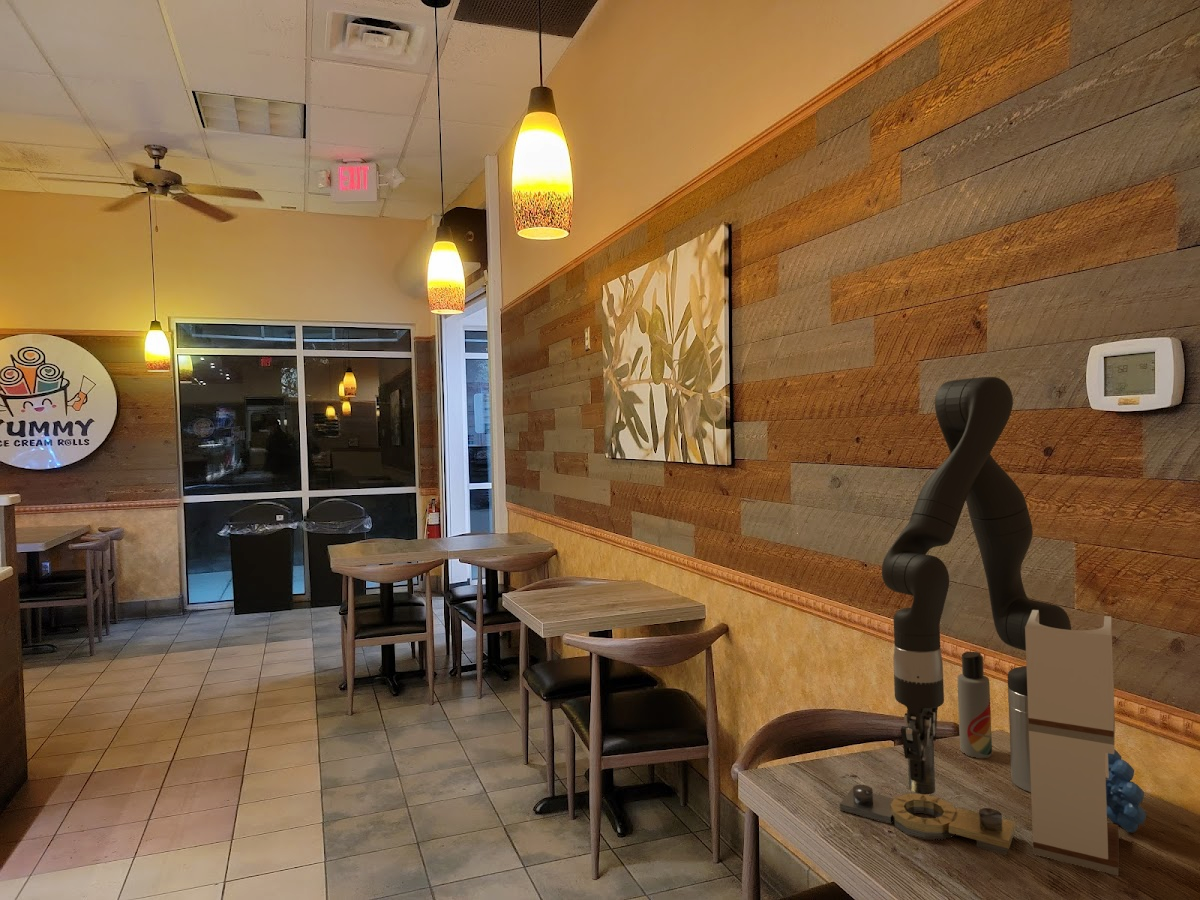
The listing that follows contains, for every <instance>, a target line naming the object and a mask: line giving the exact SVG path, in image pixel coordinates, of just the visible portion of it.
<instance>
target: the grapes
mask: <svg viewBox="0 0 1200 900" xmlns="http://www.w3.org/2000/svg"><path fill="white" fill-rule="evenodd" d="M1108 770H1109V779H1106V803H1107V819H1109V820H1110V821H1111V822H1112V823H1113V824H1116V825H1118V826H1120V827H1121V828H1122V829H1123V830H1125V831H1126V832H1128V833H1132V834H1133V833H1135V832H1137V830H1138V828H1139V826H1141V825H1142V824H1144V823H1145V820H1146V818H1147V817H1146V816H1147V813H1146V811H1145V810H1144V809H1143V807H1142V806H1141V805H1140V804H1141V803H1142V802H1143V800H1144V797H1145V792H1144V790H1143V789H1142V788H1141V787H1140V785H1138V783H1135V782H1134V781H1132V780H1133V778H1134V776H1135V769H1134V768H1133V766H1132V765H1131V764H1130V763H1129V762H1128V761H1125V760H1124V759H1123V758H1122V755H1121V754H1120V753H1119V752H1118V751H1117V750H1116V749H1114V754H1109V753H1108Z"/></svg>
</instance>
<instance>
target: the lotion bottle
mask: <svg viewBox="0 0 1200 900" xmlns="http://www.w3.org/2000/svg"><path fill="white" fill-rule="evenodd" d="M961 667H962V669H961V670H962V673H959V674H958V675H957V679H956V680H957V702H958V704H957V705H958V707H957V708H958V728H959V729H958V731H959V748H960V752H961V751H962V752H963V753H965V754H966V755H965V754H964V755H965V756H967V755H968V756H967V757H969V756H971V757H970V758H973V757H976V758H975V759H988V758H990V757H991V756H993V755H992V754H993V739H992V738H993V737H992V717H991V716H992V715H991V714H992V713H991V712H992V711H991V691H990V690H991V689H990V687H991V685H990V679H989V677H987V676H986V675H984V657H983V655H982V654H981V653H980V652H978V651H965V652H963V653H962V654H961ZM962 752H961V753H962ZM963 753H962V754H963Z"/></svg>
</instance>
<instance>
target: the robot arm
mask: <svg viewBox="0 0 1200 900" xmlns="http://www.w3.org/2000/svg"><path fill="white" fill-rule="evenodd" d="M1013 401H1014V399H1013V393H1012V390H1011V388H1010V386H1009V384H1007V382H1006V381H1005V380H1003V379H1001V378H1000V377H996V376H980V377H971V378H960V379H954V380H949V381H945V382H944V383H943V384H941V385H940V386H939V388H938V389H937V391H936V394H935V397H934V410H935V415H936V419H937V422H938V425H939V427H940V430H941V432H942V436H943V438H944V440H945V442H946V445H947V448H948V451H949V453H950V454H949V455H948V457H947V458H945V460H944V461H943V462H942V463H941V464H940V465H939V467H937V469H935V470H934V471H933V473H932V474H931V475H930V476H929V478H928V479H927V480H926V481H925V483H924V485H923V486H922V488H921V490H920V492H919V494H918V497H917V499H916V502H915V505H914V507H913V510H912V512H911V515H910V518H909V522H908V524H907V525H906V526H905V527H904V529H903V530H902V531H901V533H900V534H899V535H898V537H896V540H895V541H894V542H893V544H892V545H891V546H890V547H889V550H888V551H887V553H886V554H885V557H884V558H883V561H882V564H881V577H882V580H883V583H884V584H885V586H886V587H887V588H888V589H889V590H890V591H893V592H895V593H899V594H903V595H909V596H912V597H913V600H912V603H911V607H904V608H901V609H898V610H897V611H896V612H895V613H894V617H893V636H894V637H893V638H894V639H893V640H894V642H893V643H894V646H893V648H894V649H893V661H892V663H893V682H894V683H893V685H894V686H893V687H894V699H895V700H896V701H897V702H898V703H899V704H901V705H903V706H905V707H906V709H907V711H906V712H905V713H904V716H903V717H904V721H903V722H904V724H905V726H903V725H902V726H901V727H900V734H901V740H902V741H901V742H902V748H903V754H904V758H905V759H907V760H908V759H910V774H911V780H913V781H916V782H920V783H924V782H925V780H926V768H925V759H926V756H925V754H926V746H928V745H929V733H931V734H932V735H933V741H934V742H936V740H937V737H938V736H937V729H938V728H937V727H938V725H937V724H938V708H939V707H941V706H942V705H943V704H944V702H945V695H944V694H945V692H944V691H945V690H944V687H945V686H944V667H943V666H944V665H943V663H944V662H943V661H944V660H943V657H942V656H943V655H942V650H941V648H942V647H941V631H940V630H941V629H940V623H941V619H942V614H943V611H944V607H945V603H946V599H947V596H948V592H949V587H950V575H949V571H948V569H947V566H946V564H945V563H944V562H943V560H942V559H941V558H939V557H937V556H935V555H930V554H927V553H928V552H929V551H930V550H931V549H933V548H936V547H942V546H946V545H948V544H949V543H950V542H951V540H952V538H953V536H954V533H955V532H956V531H955V530H956V528H957V525H958V523H959V521H960V517H961V514H962V512H963V509H964V505H965V503H966V506H967V507H966V508H967V510H968V511H967V512H968V514H969V519H970V523H971V526H972V530H973V532H974V533H973V534H974V536H975V539H976V541H977V545H978V548H979V553H980V557H981V561H982V566H983V569H984V570H983V571H984V574H985V577H986V582H987V588H988V589H987V590H988V595H989V601H990V607H991V613H992V620H993V623H994V624H993V625H994V628H995V631H996V633H997V635H998V637H999V638H1000V640H1001V641H1002V642H1003V643H1004V644H1006V645H1007V646H1009V647H1012V648H1015V649H1018V650H1021V651H1025V652H1026V639H1025V626H1026V624H1027V622H1028V619H1029V617H1030V614H1031V612H1032V610H1039V624H1041V625H1044V626H1048V627H1052V628H1057V629H1065V630H1072V625H1071V620H1070V616H1069V615H1068V613H1067V611H1066V610H1064V609H1063V608H1062V607H1061V606H1059V605H1056V604H1053V603H1048V602H1043V601H1039V600H1034V599H1030V598H1029V597H1028V596H1027V594H1026V591H1025V587H1024V583H1023V579H1022V573H1021V571H1022V565H1023V562H1024V560H1025V557H1026V555H1027V553H1028V550H1029V548H1030V546H1031V544H1032V543H1031V542H1032V539H1033V525H1032V520H1031V516H1030V515H1031V514H1030V513H1029V508H1028V505H1027V501H1026V499H1025V496H1024V494H1023V492H1022V490H1021V489H1020V488H1019V487H1018V485H1017V484H1016V482H1015V481H1014V480H1013V479H1012V478H1011V476H1010V475H1009V474H1008V473H1007V472H1006V471H1005V470H1004V469H1003V468H1002V467H1001V465H1000V464H999V463H998V462H997V461H996V460H995V458H994V457H993V456H992V454H991V452H992V451H993V449H994V447H995V445H996V444H997V443H998V440H999V438H1000V436H1001V435H1002V433H1003V432H1004V429H1005V427H1006V426H1007V424H1008V422H1009V420H1010V416H1011V413H1012V411H1013V405H1014V402H1013ZM1007 693H1008V694H1007V695H1008V696H1007V697H1008V698H1007V699H1008V701H1007V702H1008V719H1009V720H1008V722H1009V723H1008V724H1009V725H1008V727H1009V748H1010V750H1009V751H1010V775H1011V781H1012V783H1013V784H1014V785H1015V786H1016V787H1018V788H1020V789H1021V790H1024V791H1026V792H1029V793H1031V775H1030V748H1029V720H1028V693H1027V666H1026V665H1025V666H1023V665H1022V666H1018V667H1014V668H1012V669H1010V670H1009V671H1008V673H1007ZM920 737H921V738H924V740H920ZM913 749H915V750H916V751H913Z"/></svg>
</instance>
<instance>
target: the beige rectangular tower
mask: <svg viewBox="0 0 1200 900" xmlns="http://www.w3.org/2000/svg"><path fill="white" fill-rule="evenodd" d="M1103 618H1104V619H1103V626H1102V627H1100V628H1096V629H1085V630H1084V629H1083V630H1082V629H1081V630H1077V629H1071V630H1065V629H1057V628H1052V627H1048V626H1044V625H1041V624H1039V610H1032V612H1031V614H1030V617H1029V619H1028V622H1027V624H1026V626H1025V639H1026V651H1025V658H1026V659H1025V661H1026V662H1025V664H1026V665H1025V666H1027V693H1028V720H1029V748H1030V775H1031V792H1030V794H1031V795H1030V797H1031V799H1030V800H1031V822H1032V823H1031V824H1032V826H1031V827H1032V828H1031V829H1032V853H1033V854H1034V855H1033V856H1036V855H1040V856H1045V857H1049V858H1051V859H1050V860H1052V859H1054V860H1053V861H1056V860H1057V861H1058V862H1061V863H1064V862H1066V863H1065V864H1068V863H1070V864H1069V865H1072V864H1076V865H1079V866H1078V867H1080V866H1084V867H1086V868H1085V869H1088V868H1091V869H1090V870H1092V869H1095V870H1094V871H1097V870H1099V871H1098V872H1101V871H1102V872H1101V873H1105V872H1106V873H1105V874H1109V875H1113V876H1117V877H1119V857H1120V856H1119V845H1120V844H1119V841H1120V840H1119V837H1120V836H1119V824H1116V823H1110V822H1108V817H1107V803H1106V779H1109V770H1108V753H1109V754H1114V749H1115V742H1116V741H1115V735H1116V734H1115V733H1116V720H1115V718H1116V715H1115V692H1114V691H1115V688H1114V687H1115V686H1114V659H1113V657H1114V656H1113V629H1112V628H1113V625H1112V623H1113V622H1112V616H1111V615H1109V616H1108V615H1104V617H1103ZM1115 750H1116V749H1115ZM1035 854H1036V855H1035ZM1040 856H1039V857H1040ZM1057 861H1056V862H1057ZM1076 865H1075V866H1076ZM1084 867H1083V868H1084Z"/></svg>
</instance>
